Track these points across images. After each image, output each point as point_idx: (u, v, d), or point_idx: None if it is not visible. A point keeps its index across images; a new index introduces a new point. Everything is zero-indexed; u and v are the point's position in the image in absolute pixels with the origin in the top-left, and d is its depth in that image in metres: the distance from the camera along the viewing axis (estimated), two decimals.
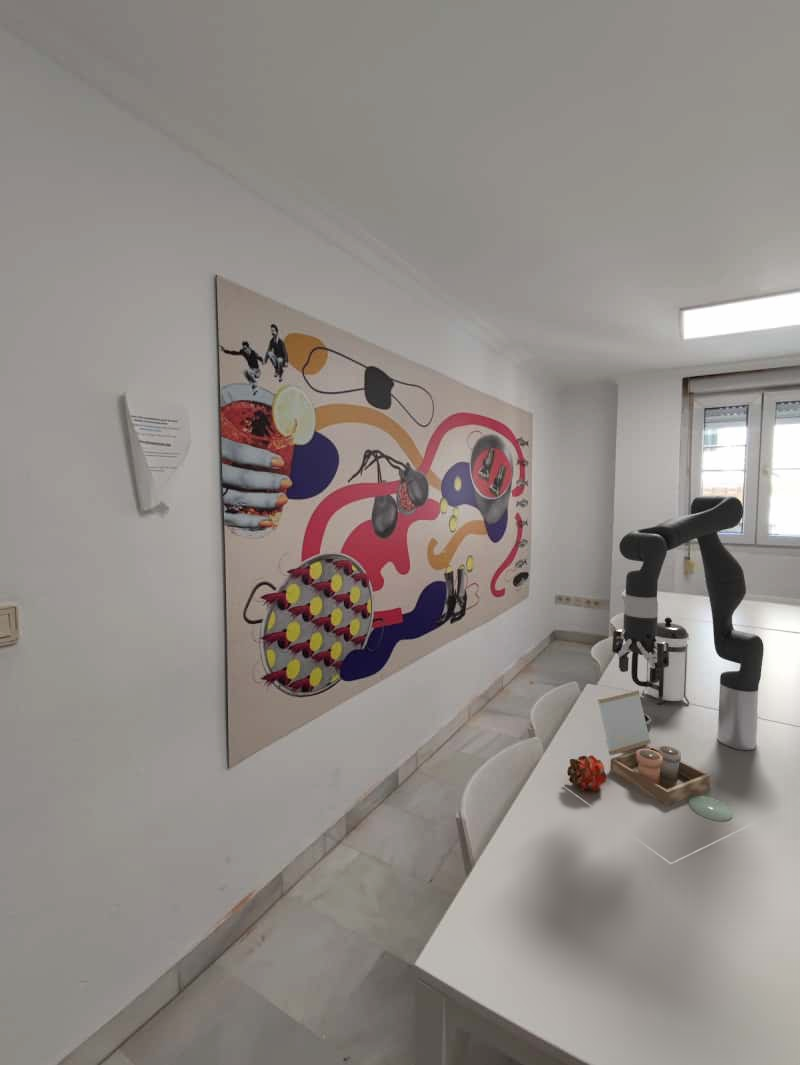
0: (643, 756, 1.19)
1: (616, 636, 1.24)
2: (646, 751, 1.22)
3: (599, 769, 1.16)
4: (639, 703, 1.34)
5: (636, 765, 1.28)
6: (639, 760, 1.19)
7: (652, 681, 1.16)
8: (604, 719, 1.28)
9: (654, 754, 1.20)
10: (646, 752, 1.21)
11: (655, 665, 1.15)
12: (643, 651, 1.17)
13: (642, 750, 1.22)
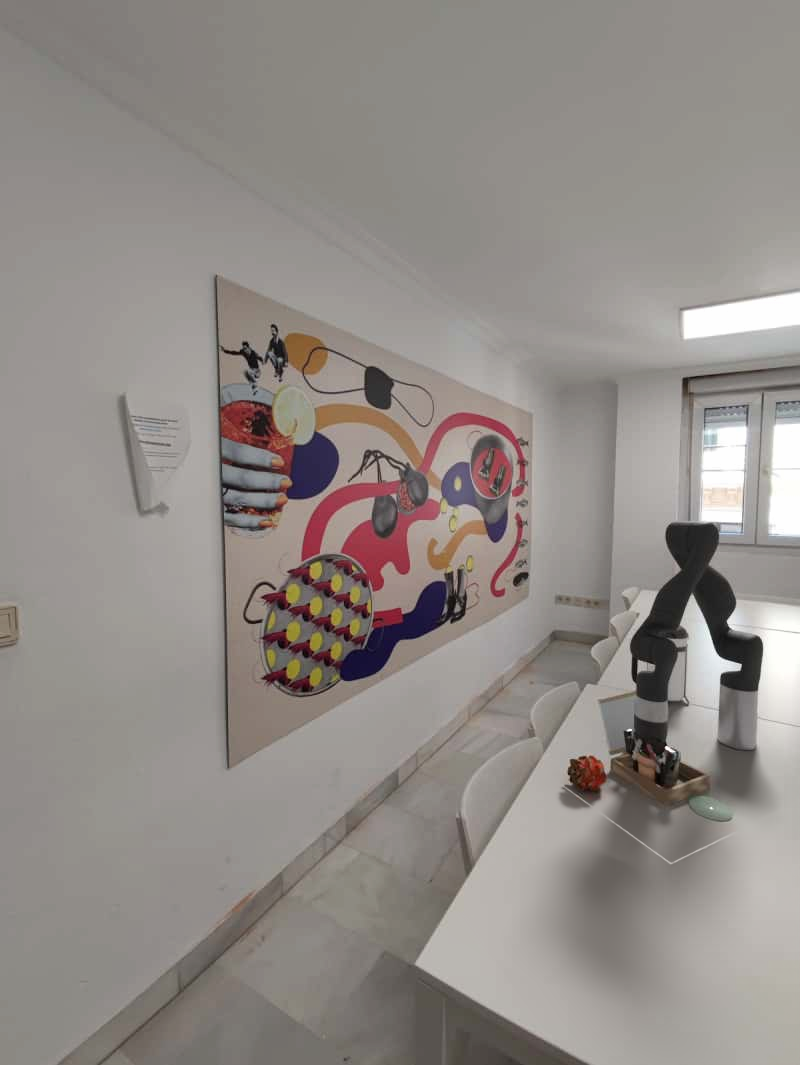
0: (643, 756, 1.19)
1: (627, 736, 1.24)
2: None
3: (599, 769, 1.16)
4: None
5: None
6: (639, 760, 1.19)
7: None
8: (604, 719, 1.28)
9: None
10: None
11: (660, 770, 1.16)
12: (652, 754, 1.17)
13: None
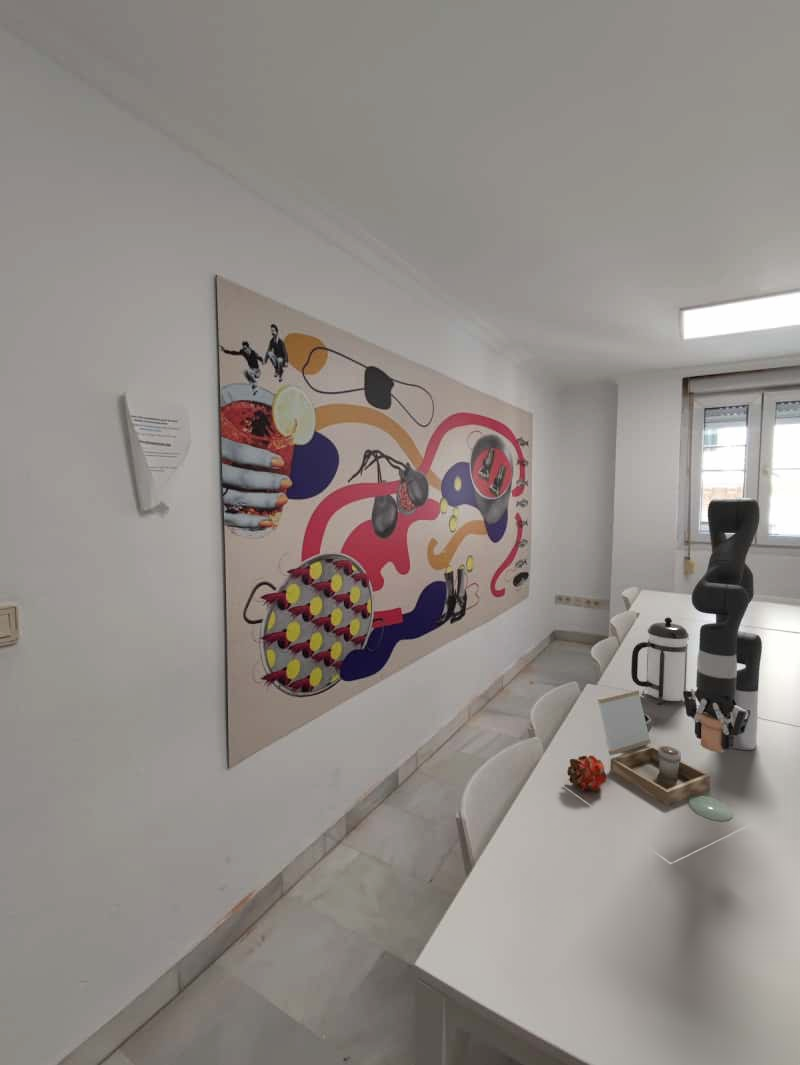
0: (708, 717, 1.08)
1: (687, 697, 1.13)
2: None
3: (599, 769, 1.16)
4: (639, 703, 1.34)
5: (636, 765, 1.28)
6: (703, 721, 1.08)
7: (725, 748, 1.06)
8: (604, 719, 1.28)
9: None
10: None
11: (729, 731, 1.05)
12: (719, 714, 1.06)
13: None
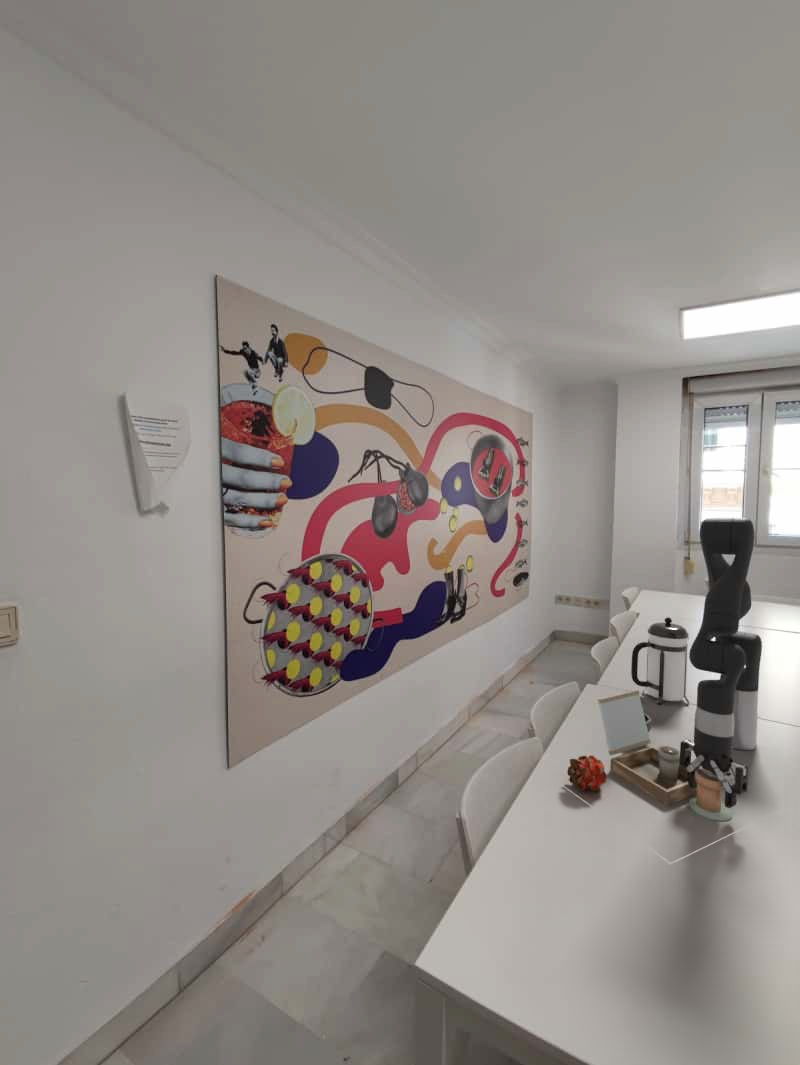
0: (704, 777, 1.09)
1: (684, 748, 1.14)
2: (705, 771, 1.12)
3: (599, 769, 1.16)
4: (639, 703, 1.34)
5: (636, 765, 1.28)
6: (699, 781, 1.10)
7: (728, 806, 1.06)
8: (604, 719, 1.28)
9: (715, 775, 1.10)
10: (706, 773, 1.11)
11: (732, 790, 1.05)
12: (718, 772, 1.07)
13: (701, 770, 1.12)
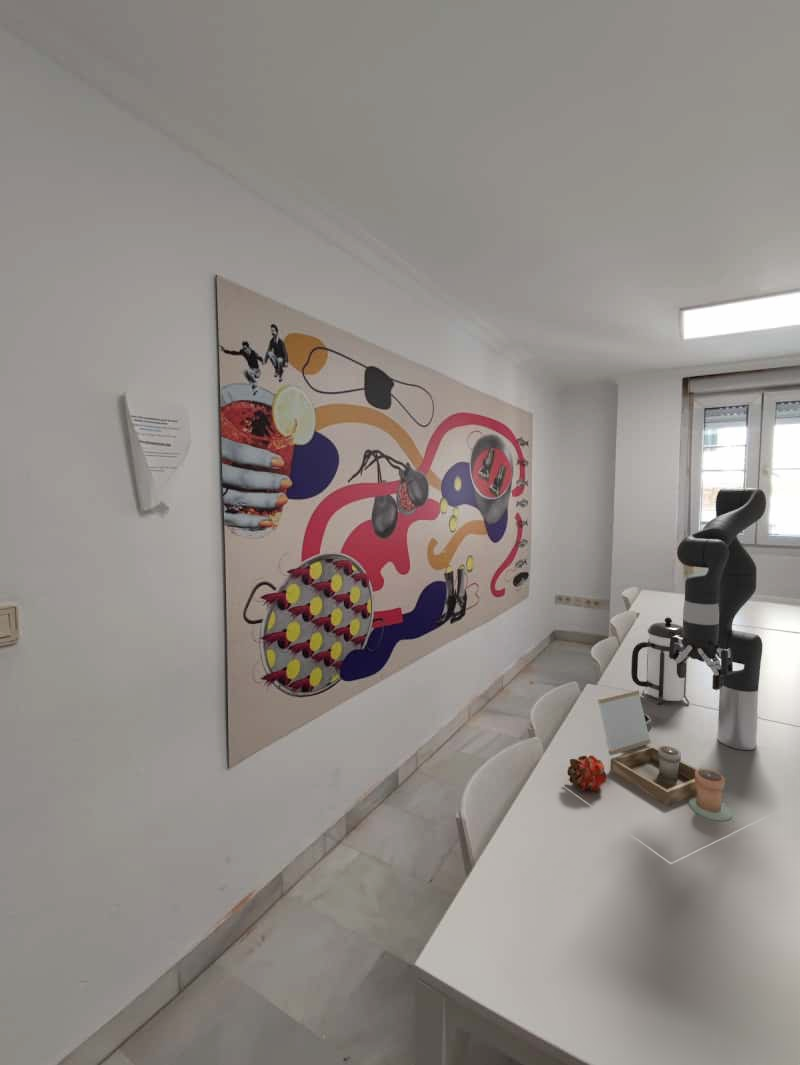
0: (704, 777, 1.09)
1: (673, 642, 1.23)
2: (705, 771, 1.12)
3: (599, 769, 1.16)
4: (639, 703, 1.34)
5: (636, 765, 1.28)
6: (699, 781, 1.10)
7: (715, 688, 1.15)
8: (604, 719, 1.28)
9: (715, 775, 1.10)
10: (706, 773, 1.11)
11: (718, 672, 1.14)
12: (705, 658, 1.15)
13: (701, 770, 1.12)
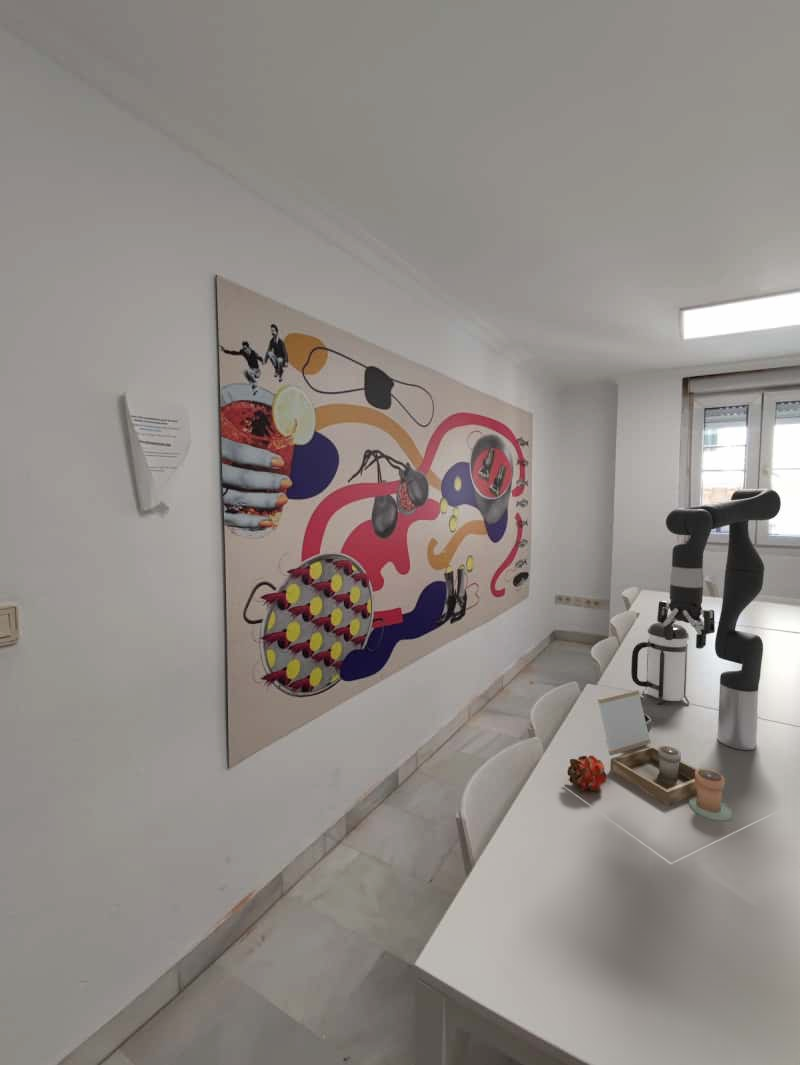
0: (704, 777, 1.09)
1: (661, 607, 1.32)
2: (705, 771, 1.12)
3: (599, 769, 1.16)
4: (639, 703, 1.34)
5: (636, 765, 1.28)
6: (699, 781, 1.10)
7: (698, 647, 1.24)
8: (604, 719, 1.28)
9: (715, 775, 1.10)
10: (706, 773, 1.11)
11: (701, 631, 1.23)
12: (689, 619, 1.25)
13: (701, 770, 1.12)
